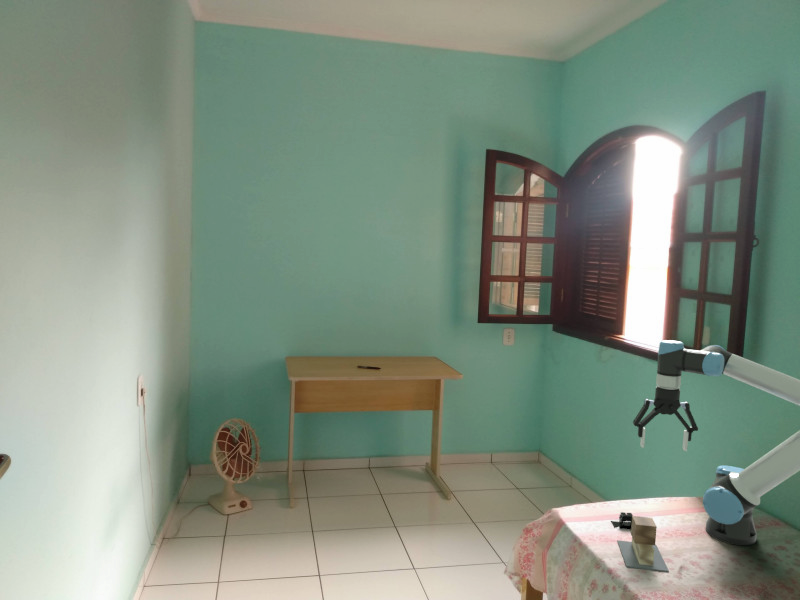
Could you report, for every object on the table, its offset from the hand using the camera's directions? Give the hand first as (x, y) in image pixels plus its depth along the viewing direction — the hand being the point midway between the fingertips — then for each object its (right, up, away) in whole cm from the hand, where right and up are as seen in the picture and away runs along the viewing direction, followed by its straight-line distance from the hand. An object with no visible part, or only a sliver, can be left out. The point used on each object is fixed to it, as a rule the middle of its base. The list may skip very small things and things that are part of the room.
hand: (663, 448), depth 206 cm
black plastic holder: (-11, -29, +5) cm, 31 cm away
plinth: (-13, -30, -15) cm, 36 cm away
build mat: (-13, -30, -15) cm, 36 cm away
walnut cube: (-13, -25, -16) cm, 32 cm away
